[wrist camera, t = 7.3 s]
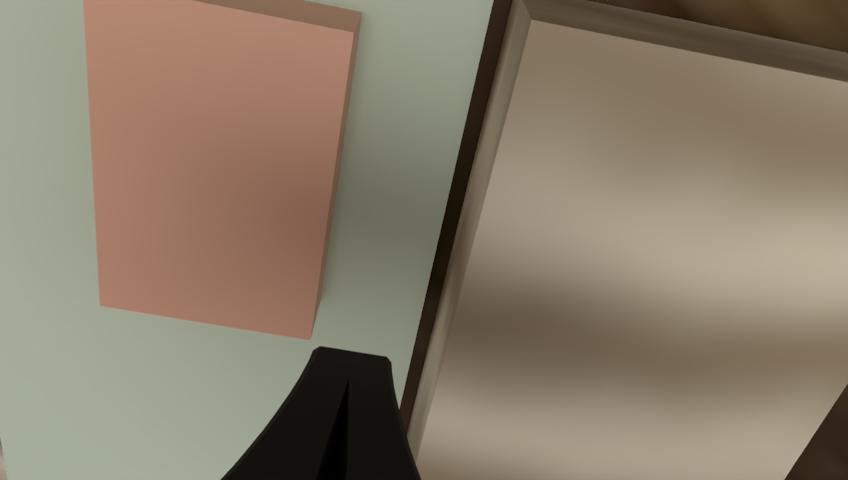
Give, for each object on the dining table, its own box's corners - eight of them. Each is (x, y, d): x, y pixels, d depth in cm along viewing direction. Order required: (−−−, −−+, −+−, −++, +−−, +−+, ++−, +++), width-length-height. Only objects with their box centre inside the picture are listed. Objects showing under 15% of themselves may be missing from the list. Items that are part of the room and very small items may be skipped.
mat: (372, 523, 28) (371, 530, 28) (11, 473, 27) (7, 479, 27) (528, -155, 16) (529, -155, 16) (-118, -296, 15) (-128, -298, 14)
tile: (99, 305, 20) (127, 267, 22) (310, 339, 20) (320, 300, 22) (82, -22, 15) (118, -38, 17) (354, 32, 16) (362, 12, 18)
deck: (694, 480, 26) (727, 565, 23) (406, 437, 25) (401, 519, 22) (927, 68, 18) (1023, 117, 15) (515, -15, 17) (531, 19, 14)
